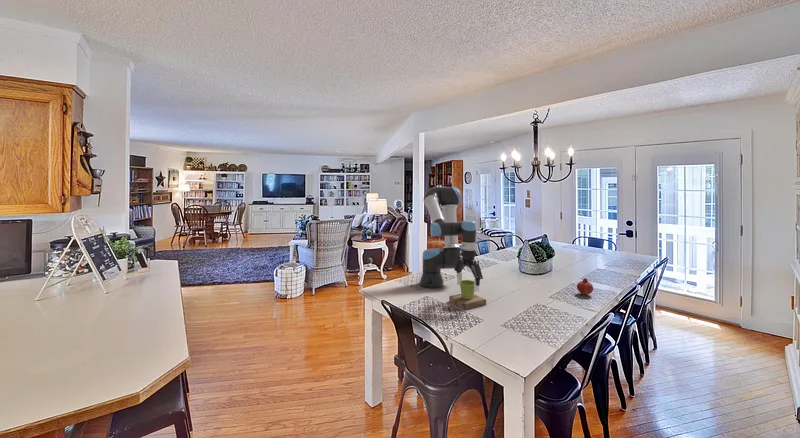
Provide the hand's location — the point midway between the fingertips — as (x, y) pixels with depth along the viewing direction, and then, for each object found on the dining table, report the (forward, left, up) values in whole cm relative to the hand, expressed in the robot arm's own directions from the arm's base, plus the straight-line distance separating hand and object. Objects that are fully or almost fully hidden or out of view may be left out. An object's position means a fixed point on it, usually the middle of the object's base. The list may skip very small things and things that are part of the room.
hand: (467, 287), depth 170 cm
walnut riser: (0, 0, -9) cm, 9 cm away
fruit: (+24, +68, -9) cm, 73 cm away
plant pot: (0, 0, -6) cm, 6 cm away
